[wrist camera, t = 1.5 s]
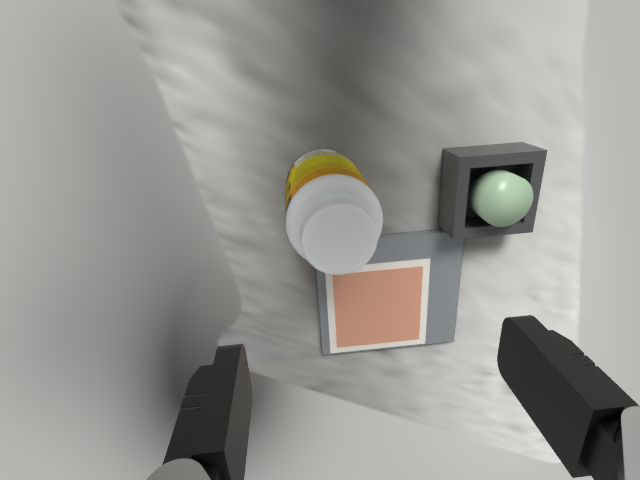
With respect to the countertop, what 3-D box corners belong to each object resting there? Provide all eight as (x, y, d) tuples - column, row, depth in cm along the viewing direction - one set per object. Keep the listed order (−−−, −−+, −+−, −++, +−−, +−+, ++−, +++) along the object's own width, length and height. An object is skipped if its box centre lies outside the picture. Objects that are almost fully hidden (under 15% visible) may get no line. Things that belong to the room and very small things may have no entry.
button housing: (443, 148, 28) (459, 157, 26) (522, 142, 29) (547, 150, 26) (437, 224, 31) (452, 239, 28) (510, 217, 31) (532, 232, 28)
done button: (470, 170, 27) (483, 178, 25) (520, 166, 27) (537, 173, 25) (465, 218, 28) (477, 229, 27) (513, 214, 29) (528, 224, 27)
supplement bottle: (275, 159, 28) (270, 205, 18) (350, 138, 28) (383, 174, 18) (297, 228, 30) (302, 300, 21) (366, 209, 30) (402, 273, 21)
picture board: (313, 241, 31) (314, 245, 30) (461, 227, 31) (465, 231, 30) (322, 350, 35) (322, 356, 34) (451, 337, 36) (454, 342, 35)
